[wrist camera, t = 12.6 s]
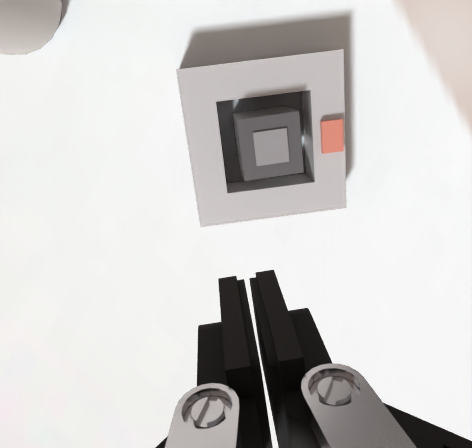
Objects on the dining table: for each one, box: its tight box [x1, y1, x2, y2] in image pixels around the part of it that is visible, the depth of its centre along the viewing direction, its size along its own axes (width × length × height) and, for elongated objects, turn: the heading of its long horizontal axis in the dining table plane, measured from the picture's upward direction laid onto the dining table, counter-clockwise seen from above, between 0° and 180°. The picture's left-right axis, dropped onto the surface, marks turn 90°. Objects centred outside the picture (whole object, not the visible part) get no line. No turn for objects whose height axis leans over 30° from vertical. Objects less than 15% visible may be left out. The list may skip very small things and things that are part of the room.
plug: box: [232, 106, 304, 181], centre depth 31 cm, size 4×4×5 cm
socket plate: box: [176, 49, 346, 227], centre depth 32 cm, size 12×12×4 cm
